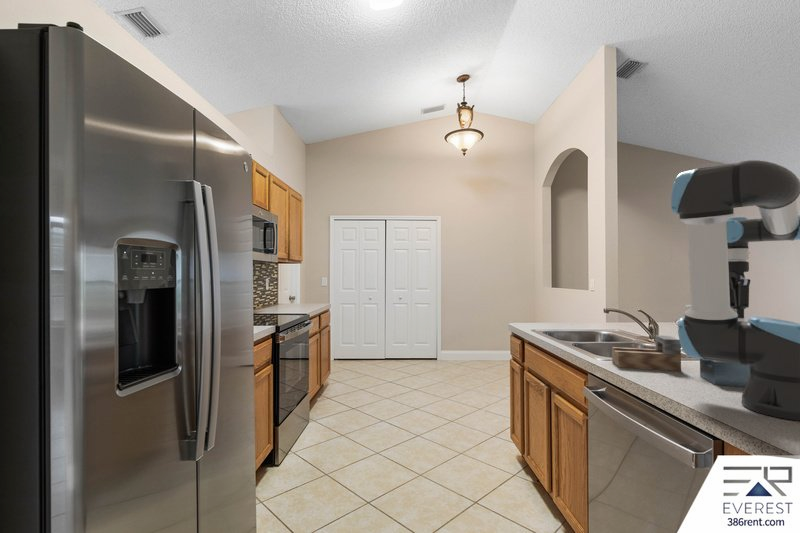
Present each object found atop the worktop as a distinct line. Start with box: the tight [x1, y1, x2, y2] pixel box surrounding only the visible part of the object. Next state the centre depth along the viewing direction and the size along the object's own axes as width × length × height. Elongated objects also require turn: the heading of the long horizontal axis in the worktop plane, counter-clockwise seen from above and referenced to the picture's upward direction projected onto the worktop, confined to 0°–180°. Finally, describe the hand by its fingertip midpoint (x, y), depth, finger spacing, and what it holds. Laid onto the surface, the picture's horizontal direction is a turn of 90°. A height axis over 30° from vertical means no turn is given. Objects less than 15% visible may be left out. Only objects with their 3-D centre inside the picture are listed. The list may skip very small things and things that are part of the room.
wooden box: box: [611, 334, 682, 372], centre depth 142 cm, size 20×9×11 cm, turn 74°
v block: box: [699, 359, 750, 388], centre depth 122 cm, size 10×10×7 cm
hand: (735, 326), depth 134 cm, fingers closed on steel bar, 4 cm apart
